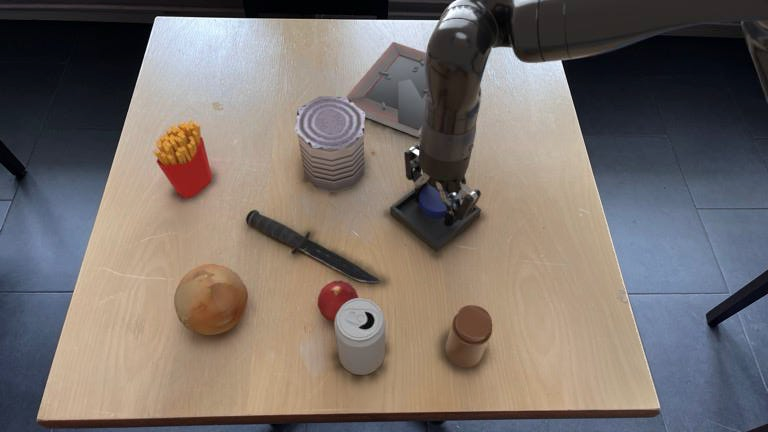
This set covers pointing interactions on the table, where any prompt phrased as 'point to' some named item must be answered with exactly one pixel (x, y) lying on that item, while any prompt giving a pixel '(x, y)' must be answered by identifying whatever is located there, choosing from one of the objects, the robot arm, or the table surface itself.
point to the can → (331, 142)
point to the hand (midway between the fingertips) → (435, 211)
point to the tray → (429, 222)
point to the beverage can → (360, 335)
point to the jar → (468, 336)
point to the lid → (432, 203)
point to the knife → (307, 246)
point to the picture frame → (394, 89)
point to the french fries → (184, 159)
